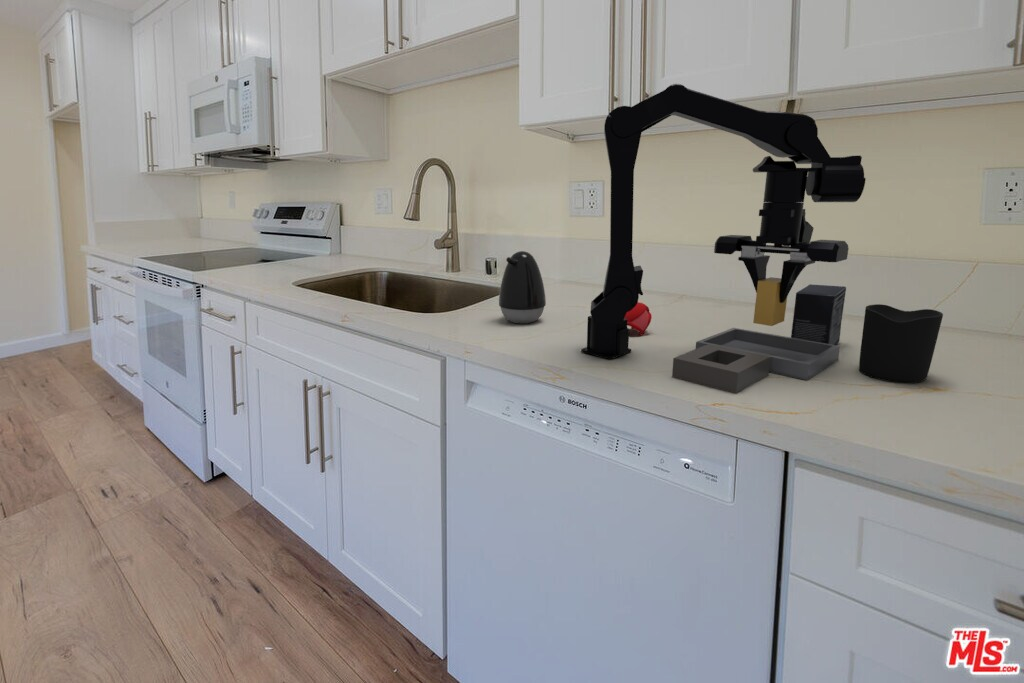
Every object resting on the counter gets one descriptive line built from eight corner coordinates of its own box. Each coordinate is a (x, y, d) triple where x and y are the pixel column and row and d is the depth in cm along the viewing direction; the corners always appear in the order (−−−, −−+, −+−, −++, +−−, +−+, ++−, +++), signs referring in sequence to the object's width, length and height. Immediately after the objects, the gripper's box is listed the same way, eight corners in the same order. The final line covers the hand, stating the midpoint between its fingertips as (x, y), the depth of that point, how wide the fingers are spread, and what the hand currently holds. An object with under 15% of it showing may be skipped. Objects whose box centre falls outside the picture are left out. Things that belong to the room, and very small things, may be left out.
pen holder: (893, 363, 89) (904, 303, 87) (946, 382, 80) (960, 315, 78) (841, 366, 88) (851, 305, 85) (889, 386, 79) (901, 318, 76)
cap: (643, 311, 114) (619, 297, 112) (659, 307, 108) (634, 292, 107) (628, 345, 112) (604, 332, 111) (644, 343, 106) (618, 328, 105)
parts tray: (694, 355, 94) (696, 341, 94) (732, 340, 103) (733, 327, 103) (807, 380, 82) (809, 364, 81) (837, 360, 91) (840, 345, 90)
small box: (801, 337, 106) (808, 282, 103) (839, 342, 102) (848, 286, 99) (786, 349, 98) (794, 290, 95) (828, 355, 94) (837, 295, 91)
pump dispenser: (489, 322, 119) (487, 252, 115) (516, 313, 128) (515, 247, 124) (528, 328, 114) (528, 254, 110) (554, 319, 122) (555, 250, 118)
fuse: (753, 323, 90) (758, 280, 88) (765, 318, 94) (770, 277, 92) (771, 326, 88) (777, 282, 86) (784, 321, 92) (789, 279, 90)
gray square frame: (672, 376, 84) (673, 358, 83) (707, 361, 91) (708, 343, 90) (736, 393, 77) (738, 372, 76) (768, 375, 84) (770, 356, 83)
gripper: (866, 202, 85) (850, 302, 89) (746, 201, 98) (737, 288, 102) (843, 203, 77) (827, 312, 81) (717, 202, 90) (708, 296, 94)
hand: (771, 301), depth 90 cm, fingers closed on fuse, 3 cm apart
